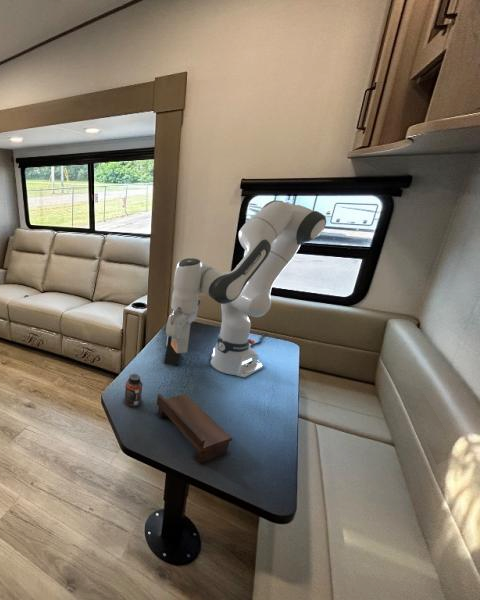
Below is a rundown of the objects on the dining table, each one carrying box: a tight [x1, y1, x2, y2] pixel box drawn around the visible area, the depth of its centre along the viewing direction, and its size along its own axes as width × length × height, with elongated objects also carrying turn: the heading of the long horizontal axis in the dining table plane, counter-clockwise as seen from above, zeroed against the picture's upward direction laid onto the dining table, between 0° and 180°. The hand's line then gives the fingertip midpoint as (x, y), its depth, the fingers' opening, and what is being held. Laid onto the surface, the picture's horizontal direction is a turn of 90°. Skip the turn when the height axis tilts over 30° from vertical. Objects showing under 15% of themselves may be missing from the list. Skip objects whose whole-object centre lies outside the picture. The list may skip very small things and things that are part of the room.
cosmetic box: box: [171, 321, 192, 354], centre depth 117 cm, size 6×4×12 cm
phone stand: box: [163, 335, 182, 367], centre depth 143 cm, size 9×6×12 cm, turn 156°
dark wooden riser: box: [156, 393, 233, 464], centre depth 103 cm, size 12×22×9 cm, turn 21°
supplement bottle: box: [124, 373, 143, 408], centre depth 116 cm, size 6×6×11 cm
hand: (180, 338), depth 118 cm, fingers closed on cosmetic box, 7 cm apart
